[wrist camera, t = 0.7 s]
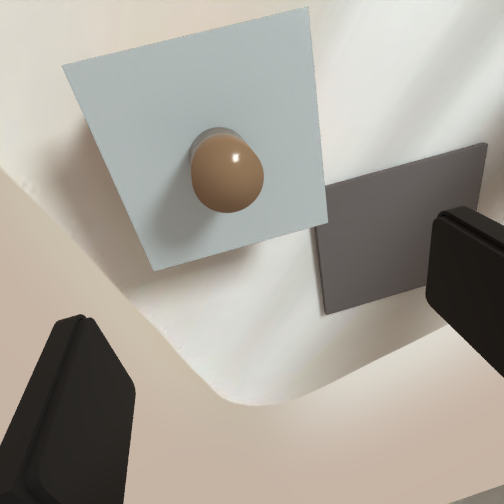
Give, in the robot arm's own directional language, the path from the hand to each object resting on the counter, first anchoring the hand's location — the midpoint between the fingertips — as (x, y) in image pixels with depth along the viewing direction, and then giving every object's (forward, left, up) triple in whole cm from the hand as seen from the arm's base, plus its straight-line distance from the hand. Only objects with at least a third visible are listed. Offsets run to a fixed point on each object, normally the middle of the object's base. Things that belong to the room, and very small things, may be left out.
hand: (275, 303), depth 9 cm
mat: (-17, +15, -22) cm, 32 cm away
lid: (0, 0, -16) cm, 16 cm away
